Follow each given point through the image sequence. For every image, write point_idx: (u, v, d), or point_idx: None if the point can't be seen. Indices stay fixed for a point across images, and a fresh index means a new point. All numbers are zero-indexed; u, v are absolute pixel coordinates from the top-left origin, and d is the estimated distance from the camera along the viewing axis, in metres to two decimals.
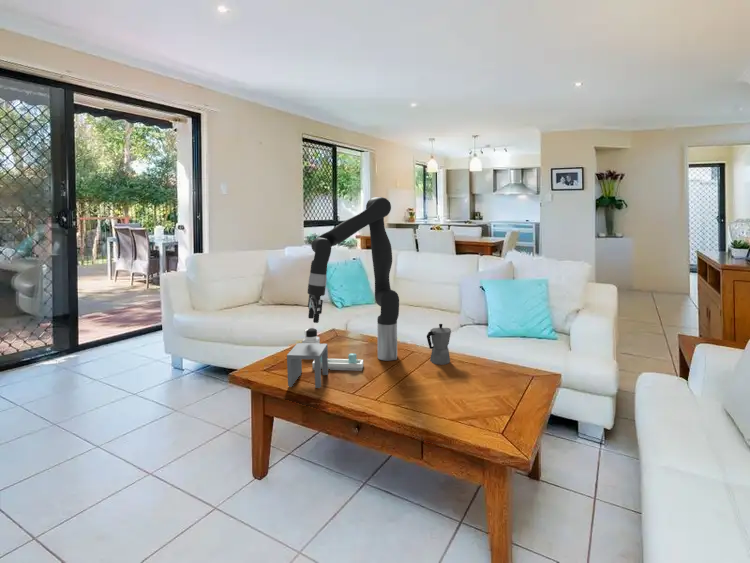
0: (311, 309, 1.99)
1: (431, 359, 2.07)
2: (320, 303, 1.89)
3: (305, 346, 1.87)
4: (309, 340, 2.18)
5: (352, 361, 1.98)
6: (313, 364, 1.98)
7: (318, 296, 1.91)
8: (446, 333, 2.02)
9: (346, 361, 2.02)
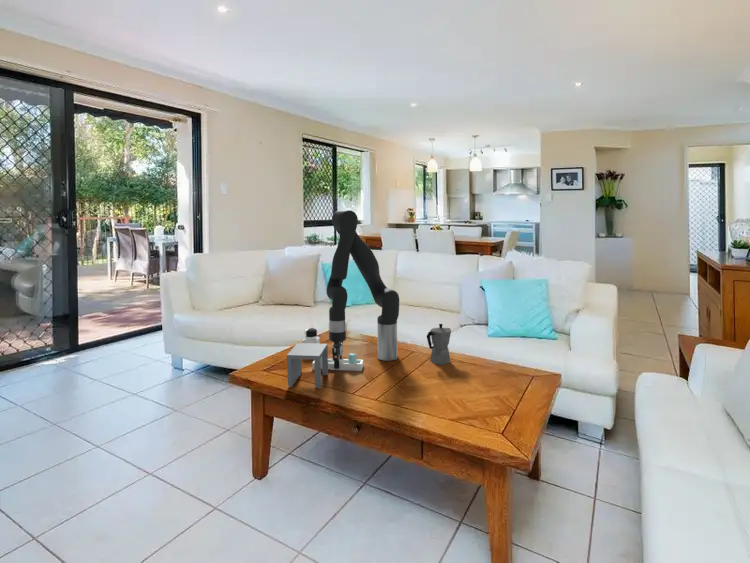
0: None
1: (431, 359, 2.07)
2: (335, 351, 1.93)
3: (305, 346, 1.87)
4: (309, 340, 2.18)
5: (352, 361, 1.98)
6: (313, 364, 1.98)
7: (336, 342, 1.95)
8: (446, 333, 2.02)
9: (346, 361, 2.02)
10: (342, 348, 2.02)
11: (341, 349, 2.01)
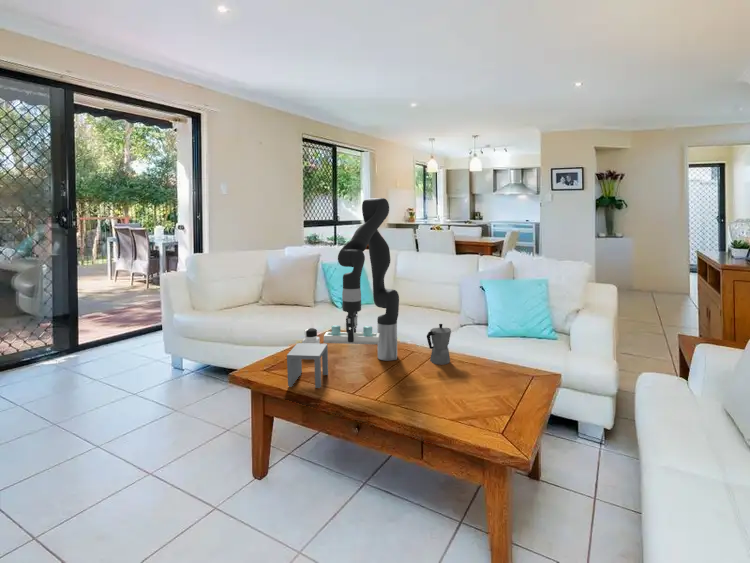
0: None
1: (431, 359, 2.07)
2: (350, 322, 1.74)
3: (305, 346, 1.87)
4: (309, 340, 2.18)
5: (367, 334, 1.79)
6: (324, 337, 1.80)
7: (350, 313, 1.76)
8: (446, 333, 2.02)
9: (361, 335, 1.83)
10: None
11: (355, 321, 1.82)
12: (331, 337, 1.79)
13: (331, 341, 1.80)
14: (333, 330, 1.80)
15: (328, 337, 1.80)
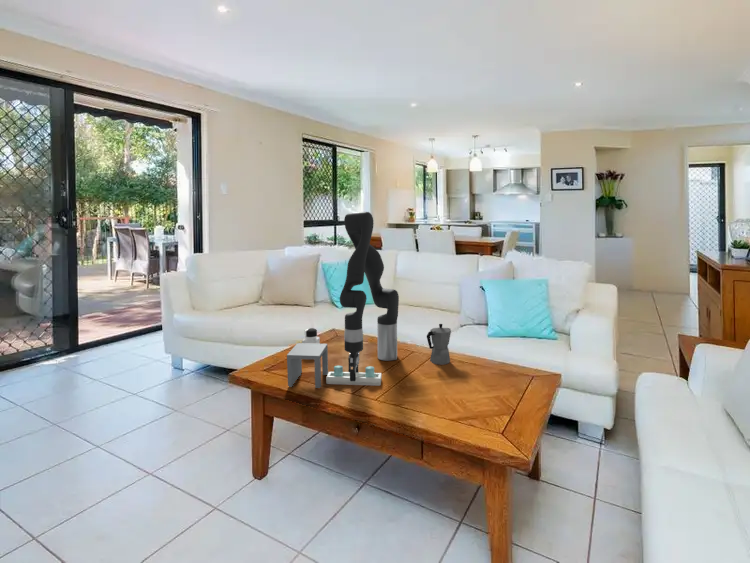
0: None
1: (431, 359, 2.07)
2: (352, 361, 1.75)
3: (305, 346, 1.87)
4: (309, 340, 2.18)
5: (370, 375, 1.81)
6: (327, 378, 1.82)
7: (352, 353, 1.78)
8: (446, 333, 2.02)
9: (363, 375, 1.85)
10: None
11: (358, 359, 1.85)
12: (334, 378, 1.81)
13: (334, 382, 1.82)
14: (335, 371, 1.82)
15: (330, 379, 1.82)
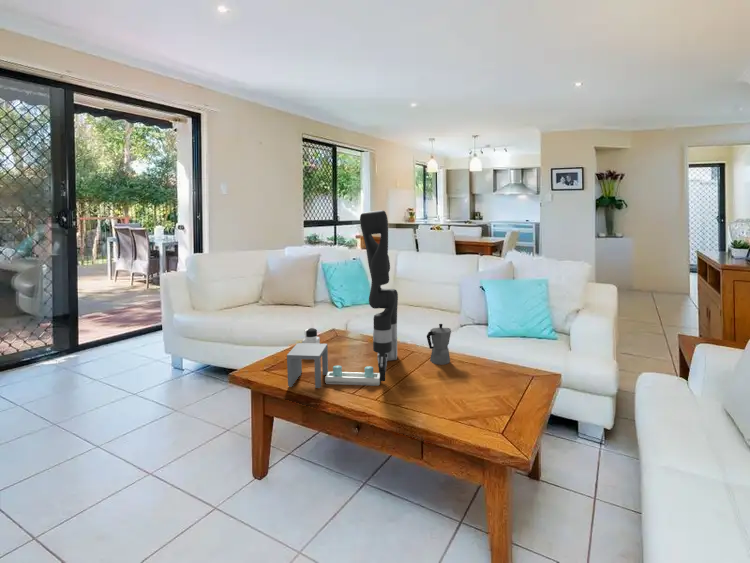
0: None
1: (431, 359, 2.07)
2: (382, 367, 1.76)
3: (305, 346, 1.87)
4: (309, 340, 2.18)
5: (369, 375, 1.81)
6: (326, 378, 1.82)
7: (382, 354, 1.77)
8: (446, 333, 2.02)
9: (362, 375, 1.85)
10: None
11: None
12: (333, 378, 1.81)
13: (333, 382, 1.82)
14: (334, 371, 1.82)
15: (329, 379, 1.82)
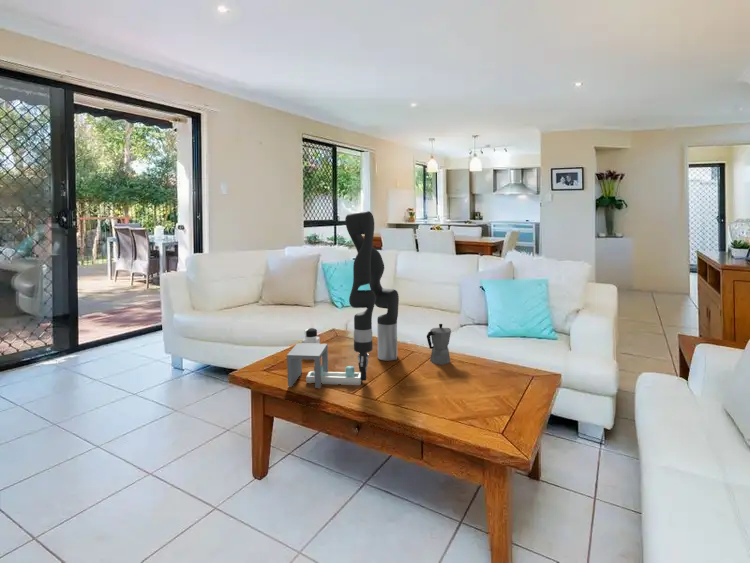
0: None
1: (431, 359, 2.07)
2: (362, 366, 1.77)
3: (305, 346, 1.87)
4: (309, 340, 2.18)
5: (349, 375, 1.82)
6: (307, 378, 1.82)
7: (362, 353, 1.78)
8: (446, 333, 2.02)
9: (343, 374, 1.86)
10: (367, 361, 1.83)
11: (366, 361, 1.82)
12: (314, 378, 1.82)
13: (314, 382, 1.82)
14: None
15: (310, 378, 1.82)
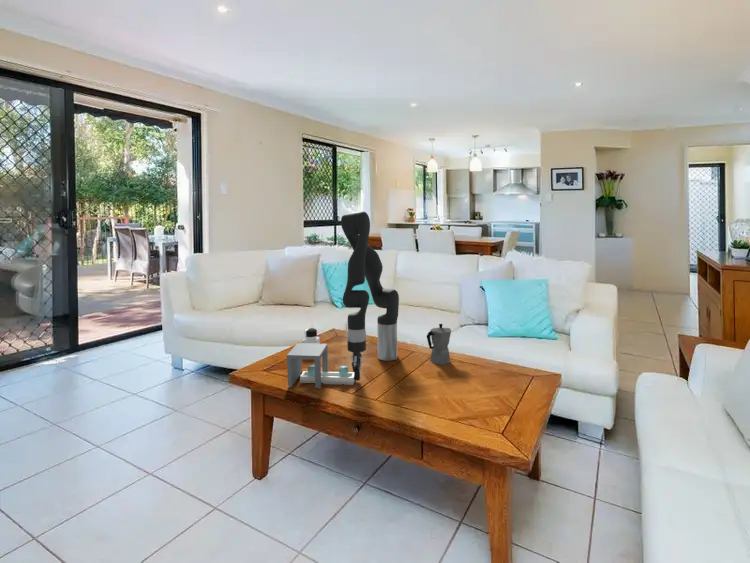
0: None
1: (431, 359, 2.07)
2: (356, 366, 1.77)
3: (305, 346, 1.87)
4: (309, 340, 2.18)
5: (343, 374, 1.82)
6: (301, 378, 1.82)
7: (355, 353, 1.78)
8: (446, 333, 2.02)
9: (337, 374, 1.86)
10: (361, 360, 1.83)
11: None
12: (307, 378, 1.82)
13: (307, 382, 1.82)
14: (309, 371, 1.83)
15: (304, 378, 1.82)
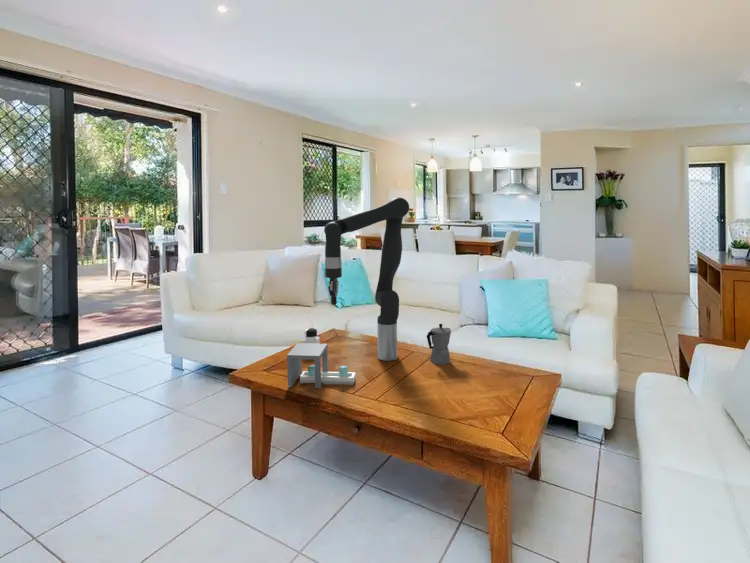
0: None
1: (431, 359, 2.07)
2: (332, 289, 1.99)
3: (305, 346, 1.87)
4: (309, 340, 2.18)
5: (343, 374, 1.82)
6: (300, 378, 1.82)
7: (332, 278, 2.00)
8: (446, 333, 2.02)
9: (336, 374, 1.86)
10: (337, 287, 2.05)
11: None
12: (307, 378, 1.82)
13: (307, 382, 1.82)
14: (309, 371, 1.83)
15: (304, 378, 1.82)
